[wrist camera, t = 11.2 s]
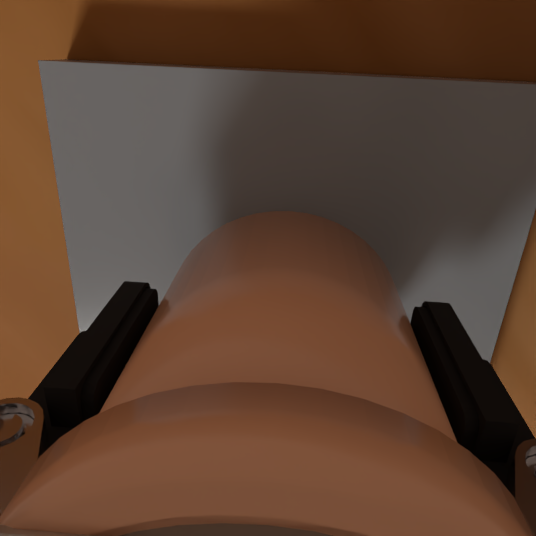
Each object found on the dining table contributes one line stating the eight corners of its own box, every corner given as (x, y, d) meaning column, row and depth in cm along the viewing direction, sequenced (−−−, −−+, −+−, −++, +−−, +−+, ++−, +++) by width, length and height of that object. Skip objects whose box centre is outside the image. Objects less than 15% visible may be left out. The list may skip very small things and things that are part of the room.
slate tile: (542, 82, 12) (571, 86, 11) (449, 425, 18) (462, 456, 16) (65, 59, 13) (37, 60, 12) (109, 398, 18) (93, 426, 17)
